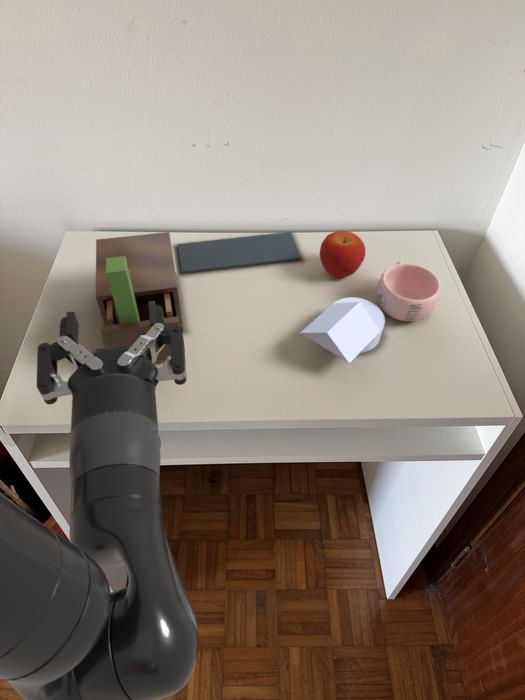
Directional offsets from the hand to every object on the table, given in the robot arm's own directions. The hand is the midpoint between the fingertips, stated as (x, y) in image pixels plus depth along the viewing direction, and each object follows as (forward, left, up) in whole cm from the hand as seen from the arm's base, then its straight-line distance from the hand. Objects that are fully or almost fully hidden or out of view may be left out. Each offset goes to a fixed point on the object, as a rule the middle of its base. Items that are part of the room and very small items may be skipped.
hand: (113, 311), depth 54 cm
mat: (+19, +33, -20) cm, 43 cm away
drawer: (+2, +14, -19) cm, 24 cm away
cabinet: (+1, +21, -20) cm, 29 cm away
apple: (+36, +24, -20) cm, 48 cm away
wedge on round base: (+32, +8, -20) cm, 39 cm away
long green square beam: (0, +12, -18) cm, 22 cm away
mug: (+44, +14, -20) cm, 51 cm away
